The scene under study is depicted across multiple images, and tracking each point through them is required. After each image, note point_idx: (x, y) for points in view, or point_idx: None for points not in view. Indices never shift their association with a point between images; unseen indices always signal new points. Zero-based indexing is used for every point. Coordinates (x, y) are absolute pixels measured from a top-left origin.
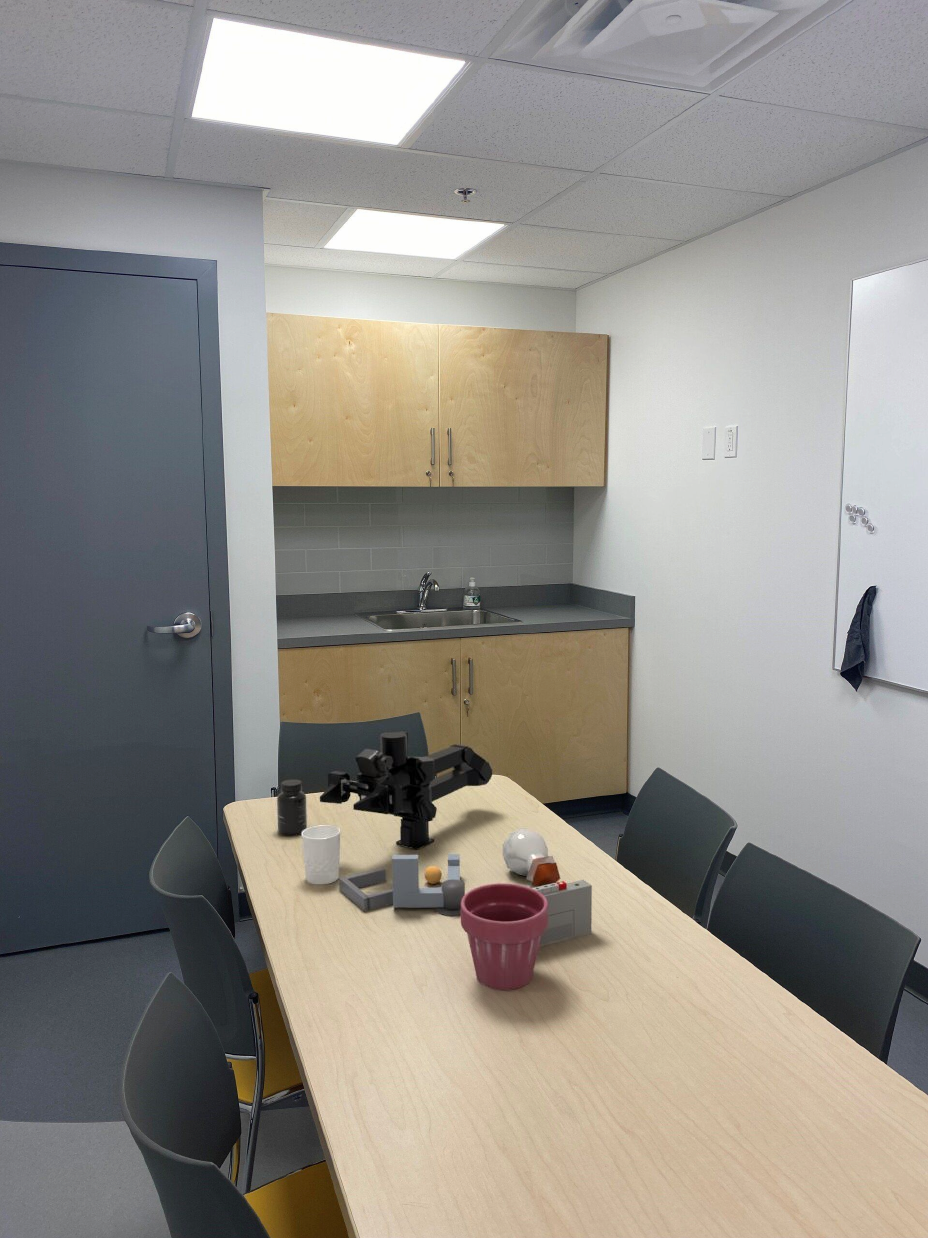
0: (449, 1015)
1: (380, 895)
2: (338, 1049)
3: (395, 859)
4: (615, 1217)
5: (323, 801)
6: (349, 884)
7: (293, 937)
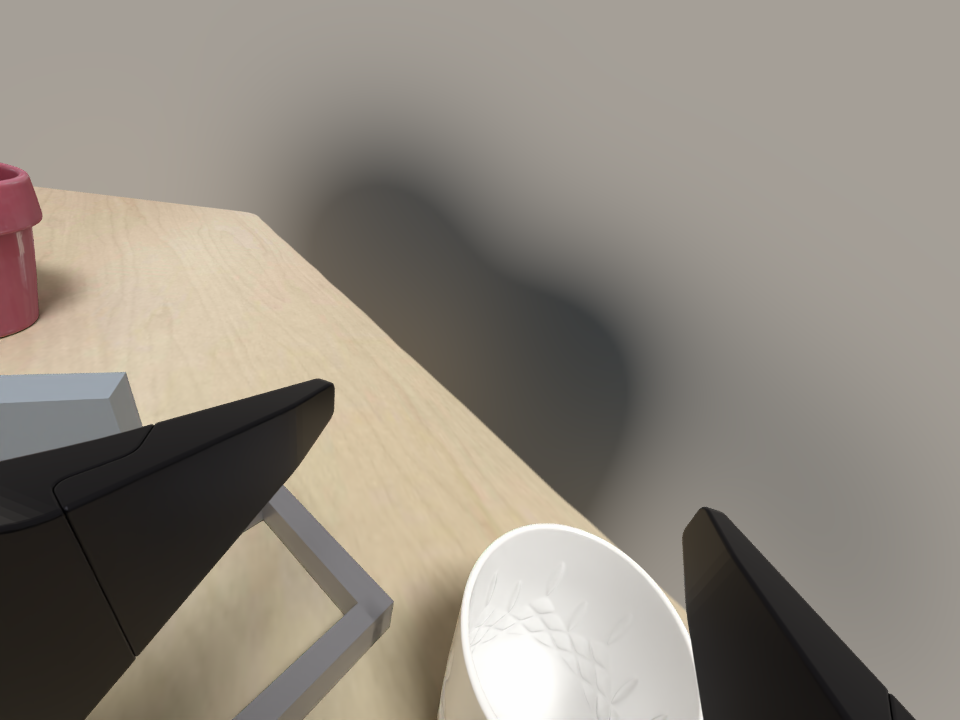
0: (135, 281)
1: None
2: (284, 268)
3: (108, 373)
4: (78, 193)
5: (685, 558)
6: (337, 554)
7: (413, 396)
